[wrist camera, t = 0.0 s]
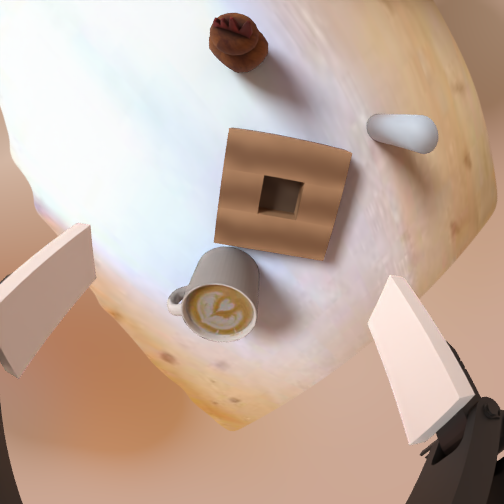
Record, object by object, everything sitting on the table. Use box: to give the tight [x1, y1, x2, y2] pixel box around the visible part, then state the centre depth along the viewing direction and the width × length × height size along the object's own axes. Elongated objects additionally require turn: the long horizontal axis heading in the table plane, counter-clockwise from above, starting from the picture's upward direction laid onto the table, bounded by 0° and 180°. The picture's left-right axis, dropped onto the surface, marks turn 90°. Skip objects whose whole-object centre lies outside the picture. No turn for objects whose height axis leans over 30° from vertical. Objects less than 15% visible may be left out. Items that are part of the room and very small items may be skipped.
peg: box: [367, 114, 438, 154], centre depth 27 cm, size 4×4×12 cm
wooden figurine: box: [209, 13, 268, 73], centre depth 23 cm, size 7×6×15 cm
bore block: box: [214, 128, 352, 261], centre depth 36 cm, size 15×15×4 cm
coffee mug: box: [167, 247, 259, 342], centre depth 40 cm, size 13×10×10 cm
